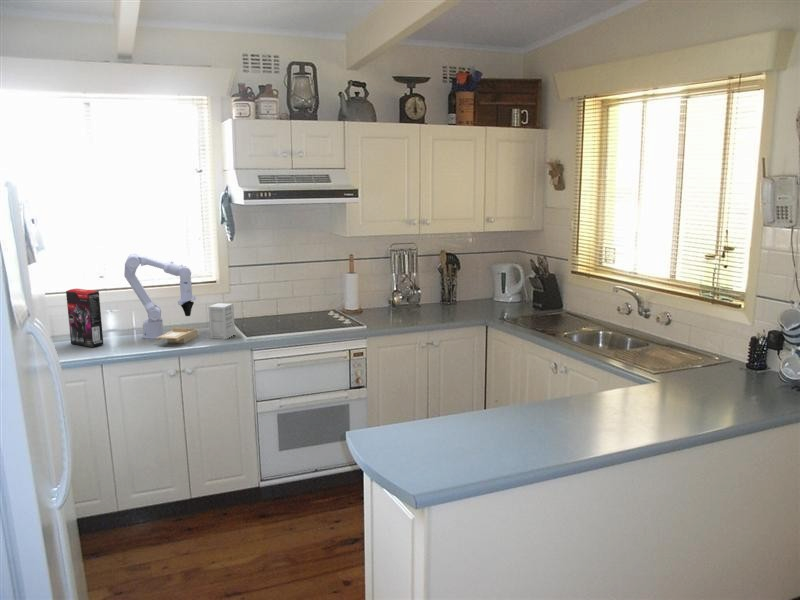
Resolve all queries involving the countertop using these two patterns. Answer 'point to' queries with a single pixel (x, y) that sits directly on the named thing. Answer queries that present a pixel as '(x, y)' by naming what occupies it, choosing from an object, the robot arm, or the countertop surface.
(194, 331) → the kraft box
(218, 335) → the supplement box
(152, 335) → the robot arm
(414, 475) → the countertop surface
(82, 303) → the graphics card box
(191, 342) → the slate mat
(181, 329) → the kraft lid
